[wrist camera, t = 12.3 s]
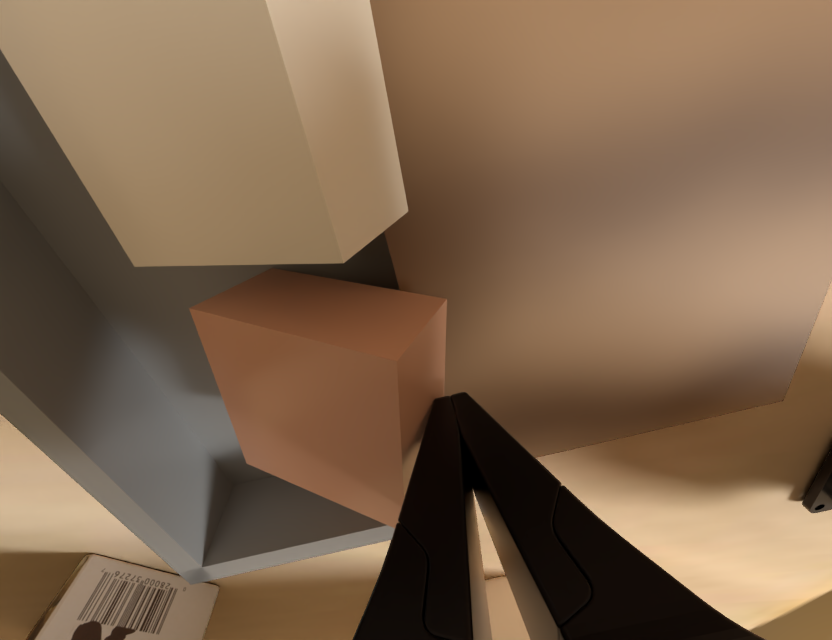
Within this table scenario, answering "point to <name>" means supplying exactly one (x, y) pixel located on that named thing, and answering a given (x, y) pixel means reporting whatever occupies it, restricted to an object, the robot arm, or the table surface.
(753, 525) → the table surface
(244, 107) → the cream tile
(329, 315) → the terracotta tile
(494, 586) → the canister
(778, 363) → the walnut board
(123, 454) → the grey tray
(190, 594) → the coffee box
